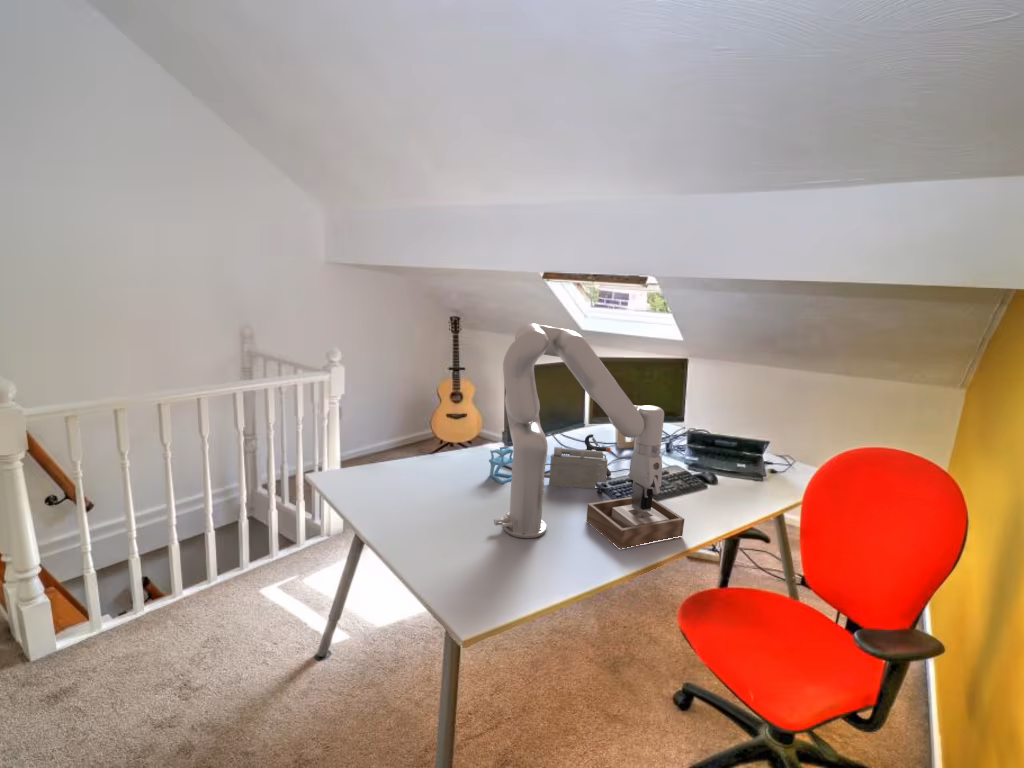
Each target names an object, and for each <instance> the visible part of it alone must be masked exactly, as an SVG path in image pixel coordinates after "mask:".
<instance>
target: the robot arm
mask: <svg viewBox="0 0 1024 768" xmlns="http://www.w3.org/2000/svg"><path fill="white" fill-rule="evenodd" d="M596 353H597V352H595V350H594V349H593V348H592V346H591V345H590V344H589V343H588V340H586V339H585V337H584V336H582V335H581V334H580V333H578V332H576V331H575V330H572V329H571V330H570V329H567V328H566V329H565V328H561V327H560V328H559V327H553V326H549V325H542V324H537V323H525V324H523V325H521V326H520V327H519V328H518V329H517V330H516V332H515V335H514V341H513V342H512V343H511V344H510V345H509V347H508V348H507V351H506V353H505V355H504V358H503V362H502V371H503V378H504V379H503V380H504V388H505V396H504V405H505V411H506V416H507V422H508V428H509V433H510V437H511V442H512V447H513V449H512V450H513V454H512V459H513V462H512V463H511V475H512V476H511V481H510V484H511V485H510V499H509V500H510V502H509V512H506V516H505V515H504V516H503V517H499V518H494V519H493V524H494V526H496V527H497V526H501V528H502V529H503V530H505V532H506V533H507V534H508V535H510V536H513V537H516V538H520V539H535V538H539V537H541V536H542V535H544V534H545V533H546V532H547V524H546V523H545V521H544V520H543V519H542V518H543V516H542V515H543V505H544V504H543V502H544V489H545V488H544V487H545V486H544V485H545V478H544V474H546V473H545V471H546V465H545V464H547V463H546V462H547V456H548V439H547V437H546V434H545V432H544V431H543V428H542V426H541V419H540V415H539V414H540V410H541V406H540V399H539V397H538V395H539V394H538V391H537V385H536V384H537V383H536V378H535V377H536V376H535V364H536V363H537V361H538V360H539V359H540V358H541V357H542V356H550V357H556V358H557V357H558V358H560V360H561V361H562V362H563V363H564V364H565V366H566V367H567V368H568V370H569V371H570V372H571V373H572V375H573V377H574V378H575V379H576V380H577V381H578V383H579V384H580V386H581V387H582V388H583V389H584V391H585V392H586V394H587V395H588V396H589V397H590V398H591V399H592V400H593V401H594V402H595V403H596V404H597V405H598V406H599V407H600V408H601V409H602V411H603V412H604V413H605V414H606V416H607V418H608V419H609V422H610V423H611V425H612V426H613V427H614V428H615V429H616V430H617V431H618V433H619V434H620V435H622V436H623V437H625V438H629V439H631V438H634V445H633V451H632V454H631V458H630V464H629V473H628V475H627V476H628V479H629V480H630V483H631V490H632V491H633V488H634V482H637V483H638V484H640V485H641V486H643V487H644V497H643V498H642V507H641V509H642V510H646V509H651V505H652V498H654V497H655V495H656V496H657V494H660V493H661V489H660V488H661V486H662V481H663V480H662V479H663V459H662V455H661V446H662V439H663V438H662V437H663V431H664V430H663V429H664V421H665V420H664V419H665V411H664V409H662V407H660V406H656V405H649V404H648V405H635V404H633V402H632V401H631V399H630V398H629V396H627V394H626V393H625V392H624V390H623V389H622V388H621V387H620V384H618V382H617V380H616V379H615V377H613V375H612V374H611V372H610V371H609V370H608V368H607V367H606V366H605V364H604V363H603V361H602V360H601V359H600V357H599V356H598V355H597V354H596ZM648 489H650V491H649V492H648ZM631 497H632V498H633V494H632V495H631Z"/></svg>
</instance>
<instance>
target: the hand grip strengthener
mask: <svg viewBox="0 0 1024 768" xmlns="http://www.w3.org/2000/svg"><path fill="white" fill-rule="evenodd" d="M590 439H591V440H592V441H593V443H594V445H592V444H591V443H590ZM584 445H585V447H586V449H585V450H592V451H602V452H606V453H610V452H611V447H609V446H608V447H602V446H600V444H599V443H598V441H597V440H596V438H595V437H594V434H592V433H591V434H588V435H587V436H586V437H585V439H584ZM602 458H604V456H603V455H602ZM611 476H612V472H611V470H610V469H609V467H608V466H607V473H606V478H609V477H611Z"/></svg>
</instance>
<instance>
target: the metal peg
mask: <svg viewBox="0 0 1024 768" xmlns="http://www.w3.org/2000/svg"><path fill="white" fill-rule="evenodd" d="M649 491H650V489H648V492H649ZM632 495H633V498H632V508H634V509H635V510H636V511H638V512H639V513H641V512H647V511H651V509H646V510H642V509H641V507H642V498H643V497H644V487H643V486H641V485H640V484H638V483H637V482H634V488H633V490H632Z"/></svg>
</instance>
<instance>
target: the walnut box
mask: <svg viewBox="0 0 1024 768" xmlns="http://www.w3.org/2000/svg"><path fill="white" fill-rule="evenodd" d="M586 508H587V510H586V521H587V522H588V523H589V524H588V525H590V524H591V525H592V526H593V527H594V528H595V530H596V529H597V530H598V531H599V532H600V533H602V534H603V535H604V536H605V537H606V538H607V539H609V540H610V541H611V542H612V543H614V544H615V545H616V546H617V547H618V548H620V549H622V548H627V547H631V546H636V545H640V544H644V543H649V542H653V541H658V540H663V539H668V538H673V537H678V536H682V537H683V534H684V525H685V518H683V517H682V516H680V515H679V514H678V513H676V512H674V511H673V510H671V509H669V508H668V507H667V506H665V505H663V504H662V503H660V502H659V501H657V500H656V499H654V497H652V505H651V511H647V512H641V513H639V512H638V511H636V510H635V509H634V508H632V496H627V497H622V498H615V499H610V500H604V501H603V500H602V501H596V502H590V503H587V507H586ZM587 522H586V523H587ZM591 525H590V526H591ZM592 526H591V527H592ZM593 527H592V528H593ZM594 528H593V529H594ZM597 530H596V531H597ZM598 531H597V532H598ZM599 532H598V533H599ZM600 533H599V534H600ZM603 535H602V536H603ZM604 536H603V537H604ZM605 537H604V538H605ZM606 538H605V539H606ZM609 540H608V541H609ZM610 541H609V542H610ZM611 542H610V543H611ZM612 543H611V544H612ZM616 546H615V547H616ZM617 547H616V548H617ZM618 548H617V549H618Z"/></svg>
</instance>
